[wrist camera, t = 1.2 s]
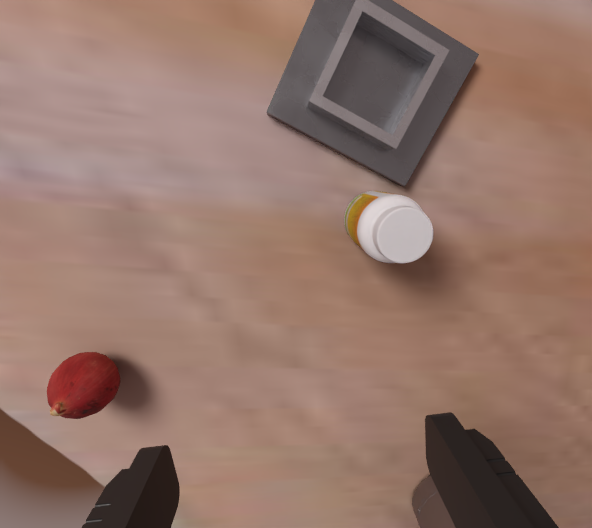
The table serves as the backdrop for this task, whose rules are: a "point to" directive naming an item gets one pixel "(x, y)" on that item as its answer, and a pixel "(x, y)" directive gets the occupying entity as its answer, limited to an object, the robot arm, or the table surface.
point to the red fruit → (82, 385)
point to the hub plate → (371, 83)
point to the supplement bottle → (388, 226)
